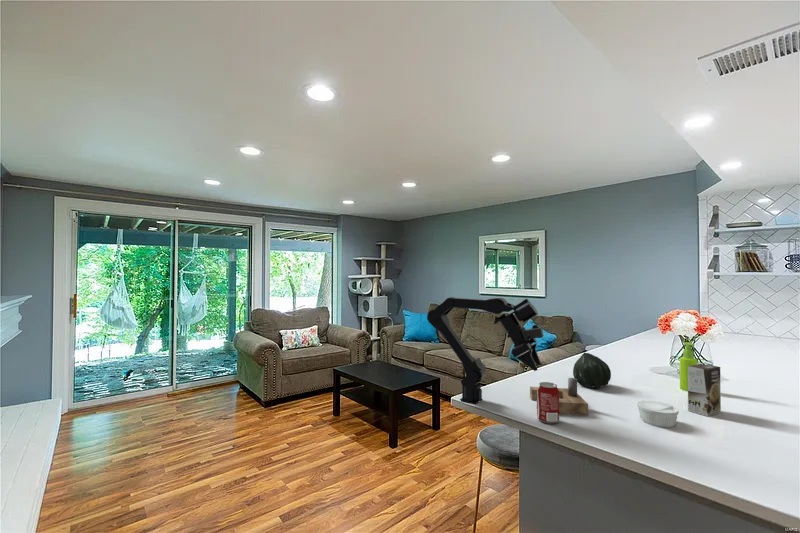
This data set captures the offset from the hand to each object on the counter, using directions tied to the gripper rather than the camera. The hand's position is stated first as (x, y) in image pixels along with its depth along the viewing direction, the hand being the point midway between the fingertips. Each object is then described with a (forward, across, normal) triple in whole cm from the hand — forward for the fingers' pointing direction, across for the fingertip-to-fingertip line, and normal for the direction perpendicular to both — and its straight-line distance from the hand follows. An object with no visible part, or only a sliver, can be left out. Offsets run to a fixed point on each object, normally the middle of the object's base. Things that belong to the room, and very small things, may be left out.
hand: (538, 367), depth 132 cm
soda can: (+15, -8, +5) cm, 18 cm away
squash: (+22, +43, -6) cm, 49 cm away
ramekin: (+33, +9, -22) cm, 40 cm away
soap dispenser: (+42, +56, -36) cm, 79 cm away
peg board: (+16, +10, +4) cm, 19 cm away
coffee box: (+42, +28, -36) cm, 61 cm away
